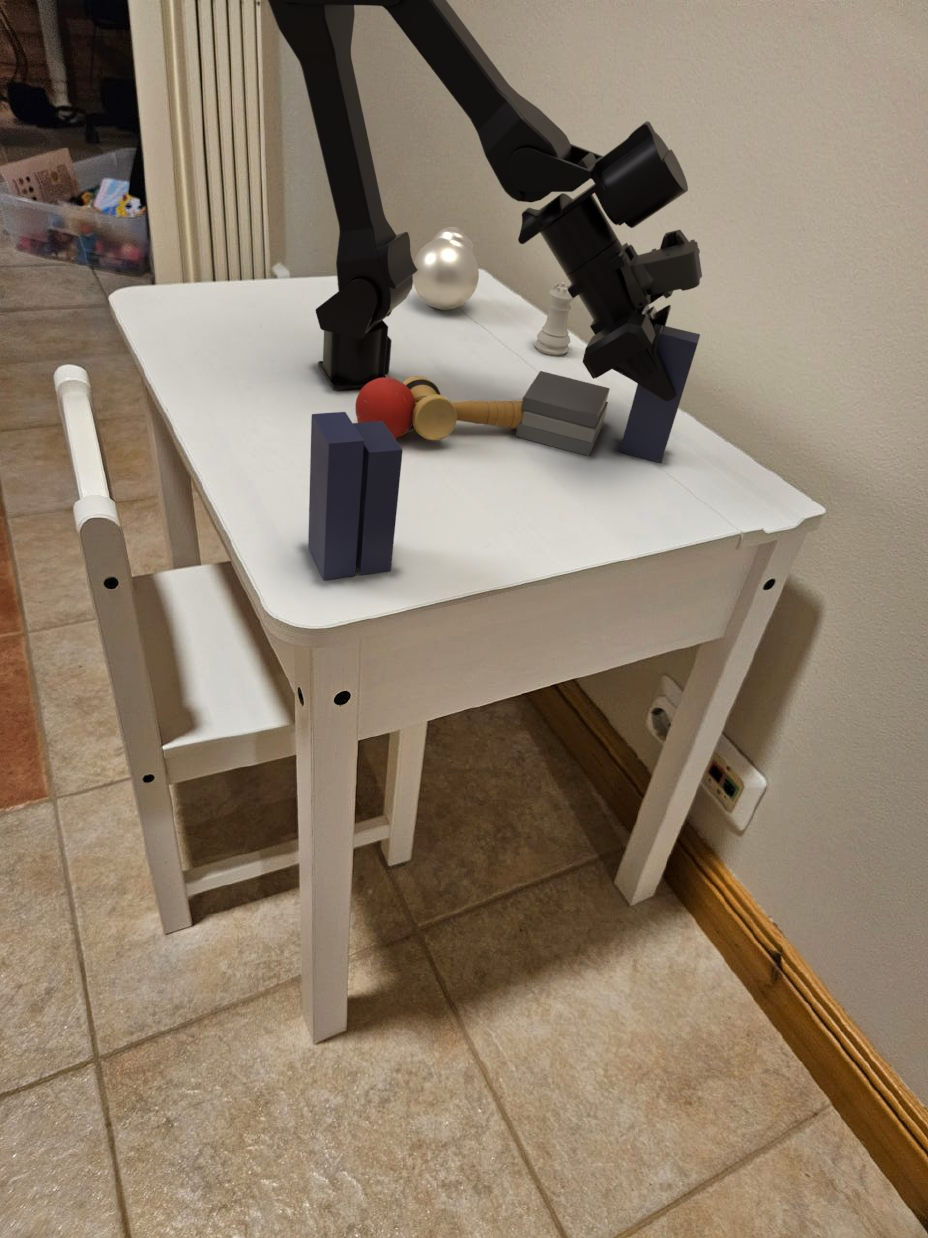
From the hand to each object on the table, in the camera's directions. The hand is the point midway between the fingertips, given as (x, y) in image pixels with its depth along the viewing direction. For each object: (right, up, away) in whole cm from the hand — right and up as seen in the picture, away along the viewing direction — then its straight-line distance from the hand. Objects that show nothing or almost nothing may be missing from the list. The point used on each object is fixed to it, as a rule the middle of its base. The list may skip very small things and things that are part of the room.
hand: (673, 393), depth 89 cm
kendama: (-23, -4, +2) cm, 24 cm away
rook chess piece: (-10, +12, +24) cm, 28 cm away
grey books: (-11, -3, +6) cm, 13 cm away
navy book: (-2, -5, +5) cm, 7 cm away
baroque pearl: (-24, +19, +31) cm, 44 cm away
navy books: (-30, -18, -17) cm, 39 cm away
